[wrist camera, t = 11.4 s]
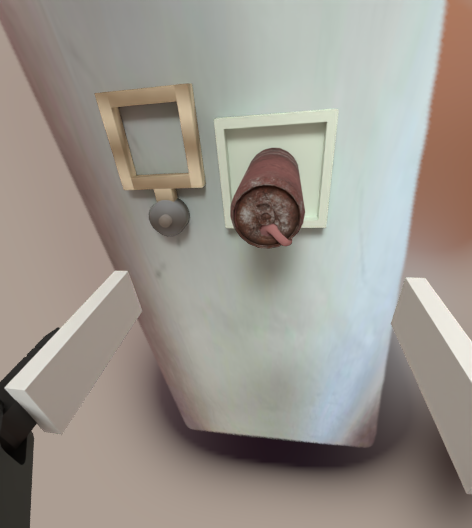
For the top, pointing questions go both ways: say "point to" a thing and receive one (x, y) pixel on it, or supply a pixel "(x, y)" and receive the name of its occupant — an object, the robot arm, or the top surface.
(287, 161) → the can
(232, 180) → the tray
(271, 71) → the top surface
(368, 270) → the top surface
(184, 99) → the collar block
